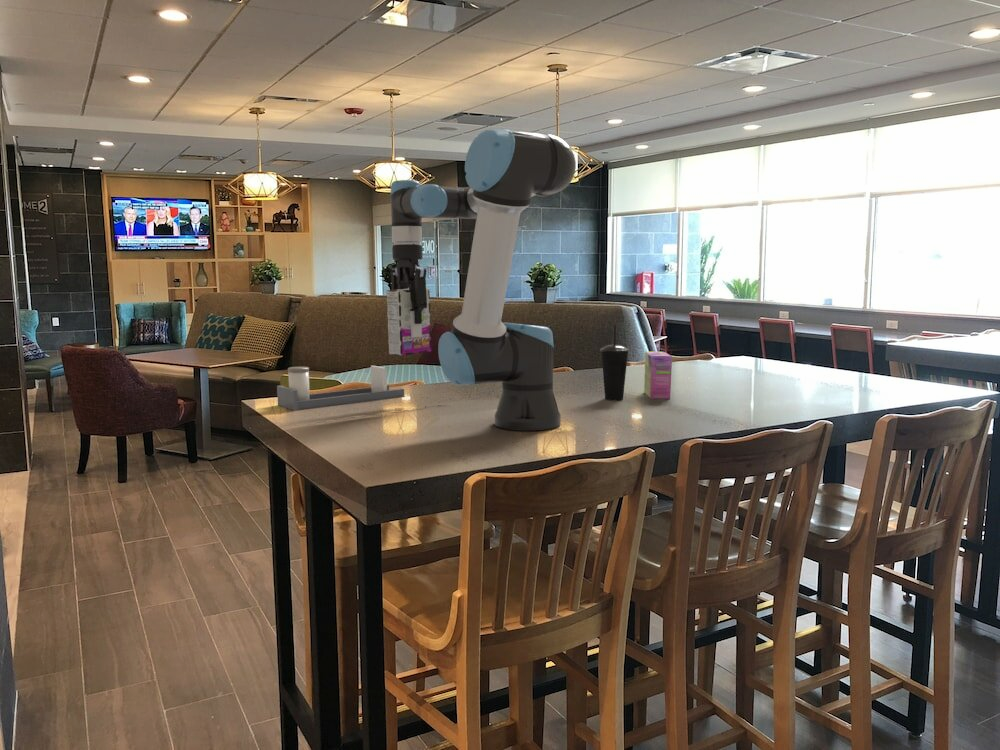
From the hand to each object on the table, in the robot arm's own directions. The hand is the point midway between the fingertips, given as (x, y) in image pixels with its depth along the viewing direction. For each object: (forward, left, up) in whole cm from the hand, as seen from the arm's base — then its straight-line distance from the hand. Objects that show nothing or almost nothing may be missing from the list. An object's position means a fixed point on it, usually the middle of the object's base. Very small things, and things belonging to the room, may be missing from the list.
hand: (409, 335), depth 202 cm
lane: (+15, +12, -18) cm, 27 cm away
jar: (+15, +24, -17) cm, 33 cm away
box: (-29, -62, -19) cm, 71 cm away
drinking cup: (-25, -49, -19) cm, 58 cm away
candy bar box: (0, 0, -5) cm, 5 cm away
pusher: (+15, 0, -17) cm, 23 cm away
